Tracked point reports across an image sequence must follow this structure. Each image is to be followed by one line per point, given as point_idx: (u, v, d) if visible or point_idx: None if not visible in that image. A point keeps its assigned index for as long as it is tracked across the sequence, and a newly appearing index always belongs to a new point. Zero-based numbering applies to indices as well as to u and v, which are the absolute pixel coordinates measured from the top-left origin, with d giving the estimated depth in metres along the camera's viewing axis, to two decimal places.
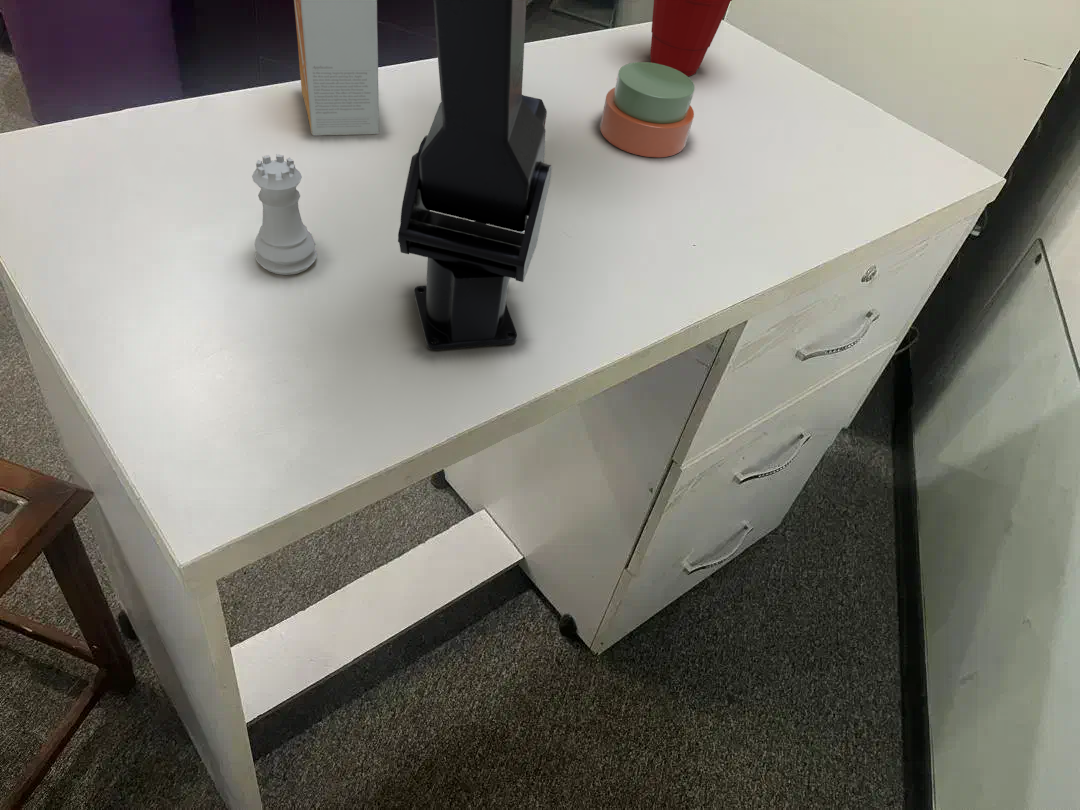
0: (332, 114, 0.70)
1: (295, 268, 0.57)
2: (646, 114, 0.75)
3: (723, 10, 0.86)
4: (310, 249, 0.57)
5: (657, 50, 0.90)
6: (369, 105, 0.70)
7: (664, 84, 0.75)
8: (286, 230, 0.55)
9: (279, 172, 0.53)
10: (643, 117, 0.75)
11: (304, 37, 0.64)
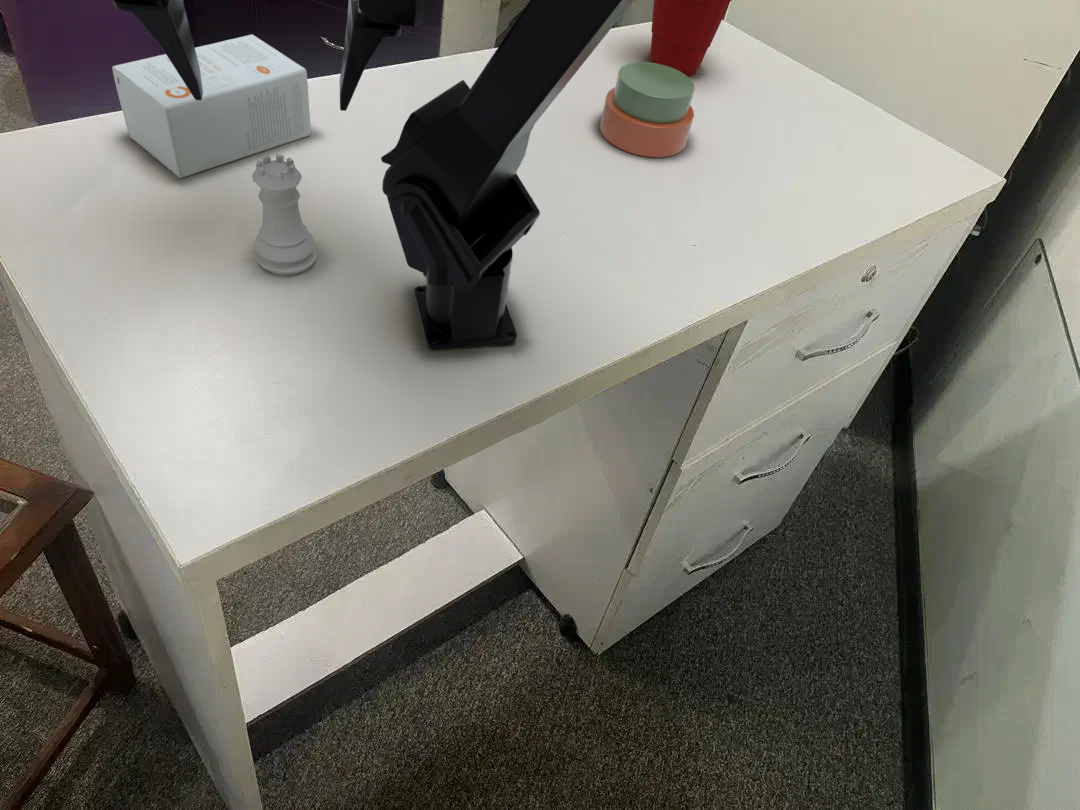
0: (291, 121, 0.68)
1: (295, 268, 0.57)
2: (646, 114, 0.75)
3: (723, 10, 0.86)
4: (310, 249, 0.57)
5: (657, 50, 0.90)
6: (279, 86, 0.65)
7: (664, 84, 0.75)
8: (286, 230, 0.55)
9: (279, 172, 0.53)
10: (643, 117, 0.75)
11: (224, 163, 0.66)
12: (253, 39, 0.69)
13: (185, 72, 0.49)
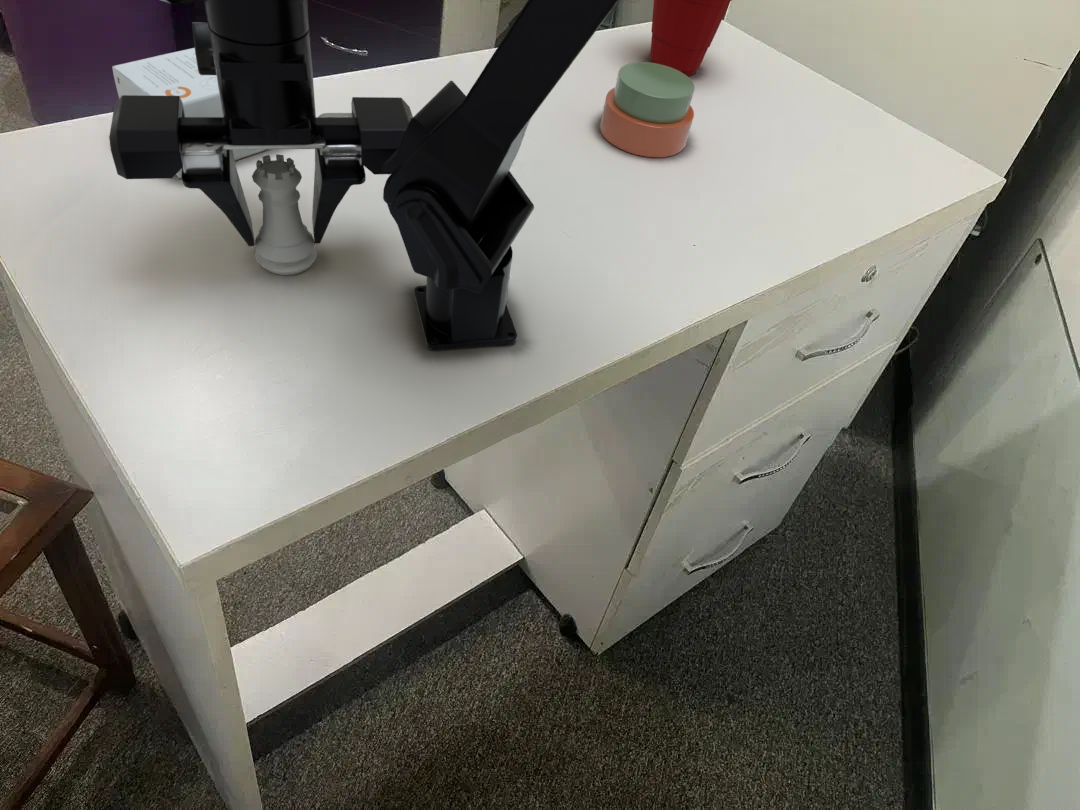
0: None
1: (295, 268, 0.57)
2: (646, 114, 0.75)
3: (723, 10, 0.86)
4: (310, 249, 0.57)
5: (657, 50, 0.90)
6: None
7: (664, 84, 0.75)
8: (286, 230, 0.55)
9: (279, 172, 0.53)
10: (643, 117, 0.75)
11: None
12: None
13: (242, 227, 0.54)
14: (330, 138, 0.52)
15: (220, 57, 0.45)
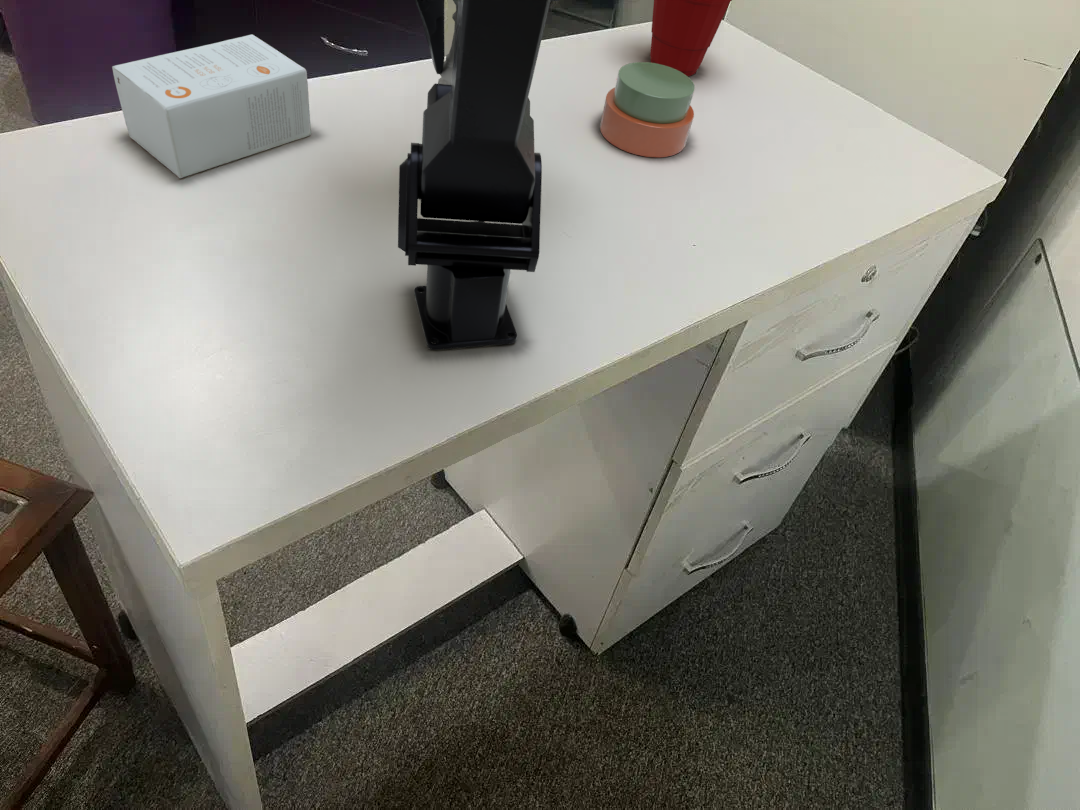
0: (291, 121, 0.68)
1: None
2: (646, 114, 0.75)
3: (723, 10, 0.86)
4: None
5: (657, 50, 0.90)
6: (279, 86, 0.65)
7: (664, 84, 0.75)
8: None
9: None
10: (643, 117, 0.75)
11: (224, 163, 0.66)
12: (253, 39, 0.69)
13: (438, 48, 0.56)
14: None
15: None
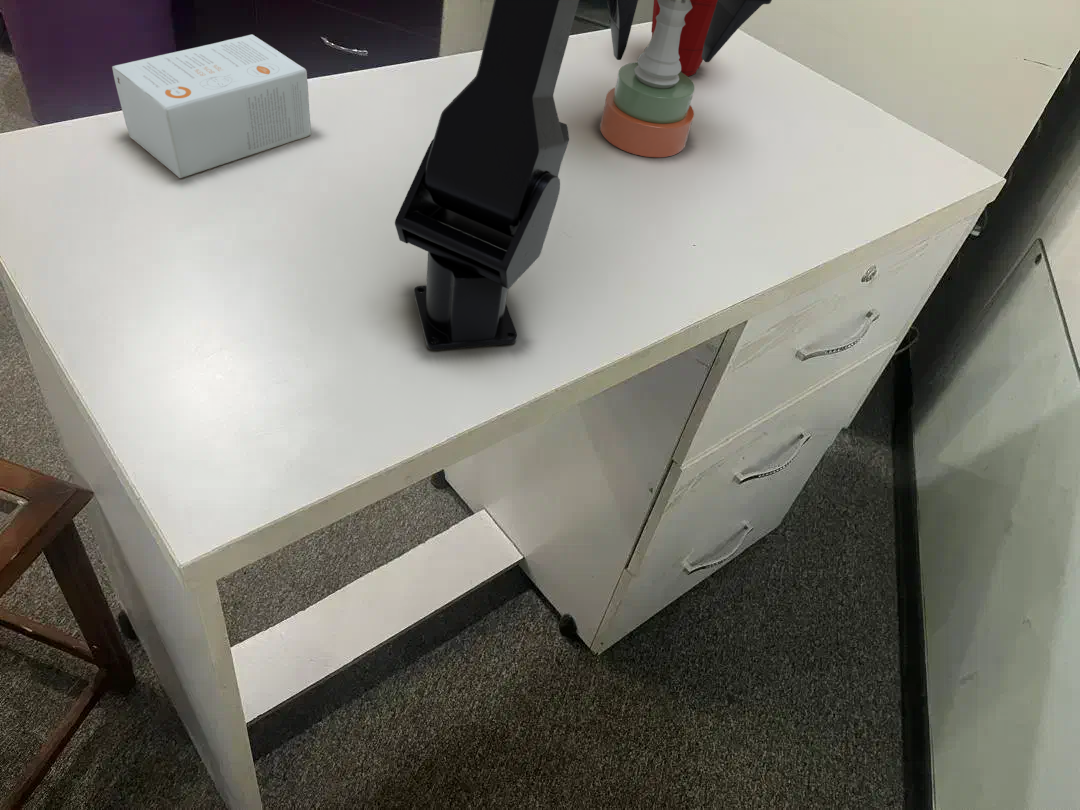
0: (291, 121, 0.68)
1: (669, 82, 0.74)
2: (646, 114, 0.75)
3: None
4: (680, 68, 0.75)
5: None
6: (279, 86, 0.65)
7: None
8: (672, 48, 0.73)
9: None
10: (643, 117, 0.75)
11: (224, 163, 0.66)
12: (253, 39, 0.69)
13: (623, 39, 0.71)
14: None
15: None
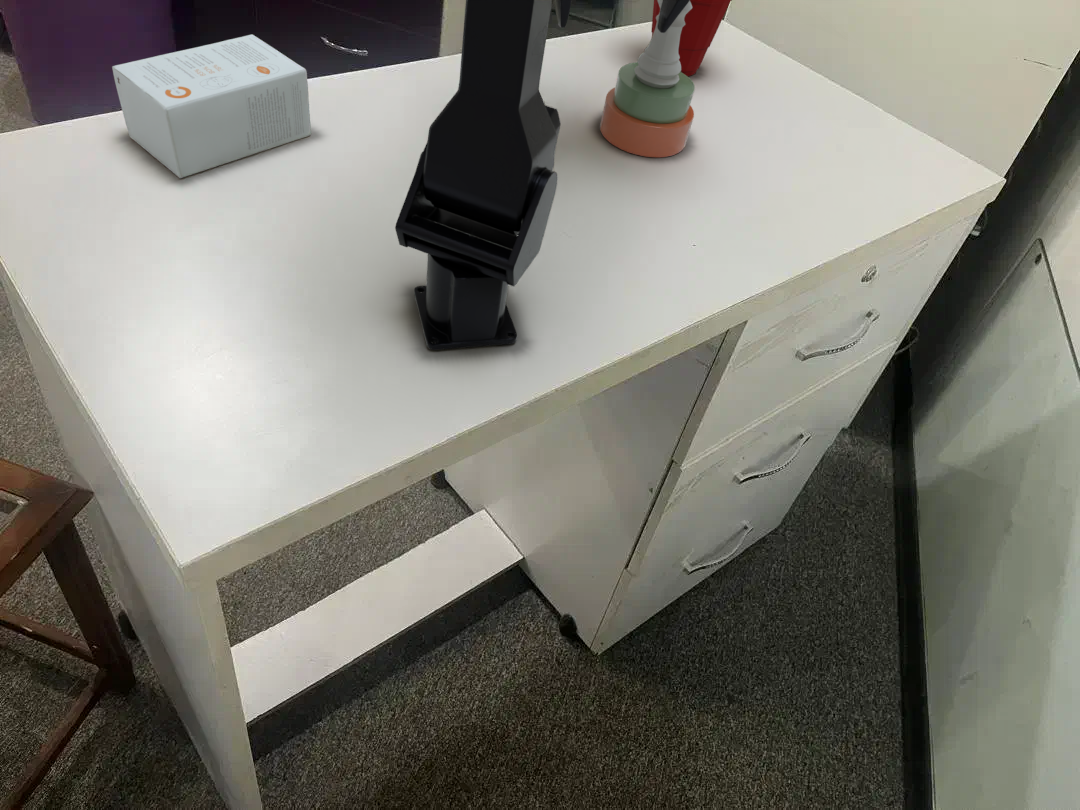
0: (291, 121, 0.68)
1: (669, 82, 0.74)
2: (646, 114, 0.75)
3: (723, 10, 0.86)
4: (680, 68, 0.75)
5: None
6: (279, 86, 0.65)
7: None
8: (672, 48, 0.73)
9: None
10: (643, 117, 0.75)
11: (224, 163, 0.66)
12: (253, 39, 0.69)
13: (566, 2, 0.63)
14: None
15: None
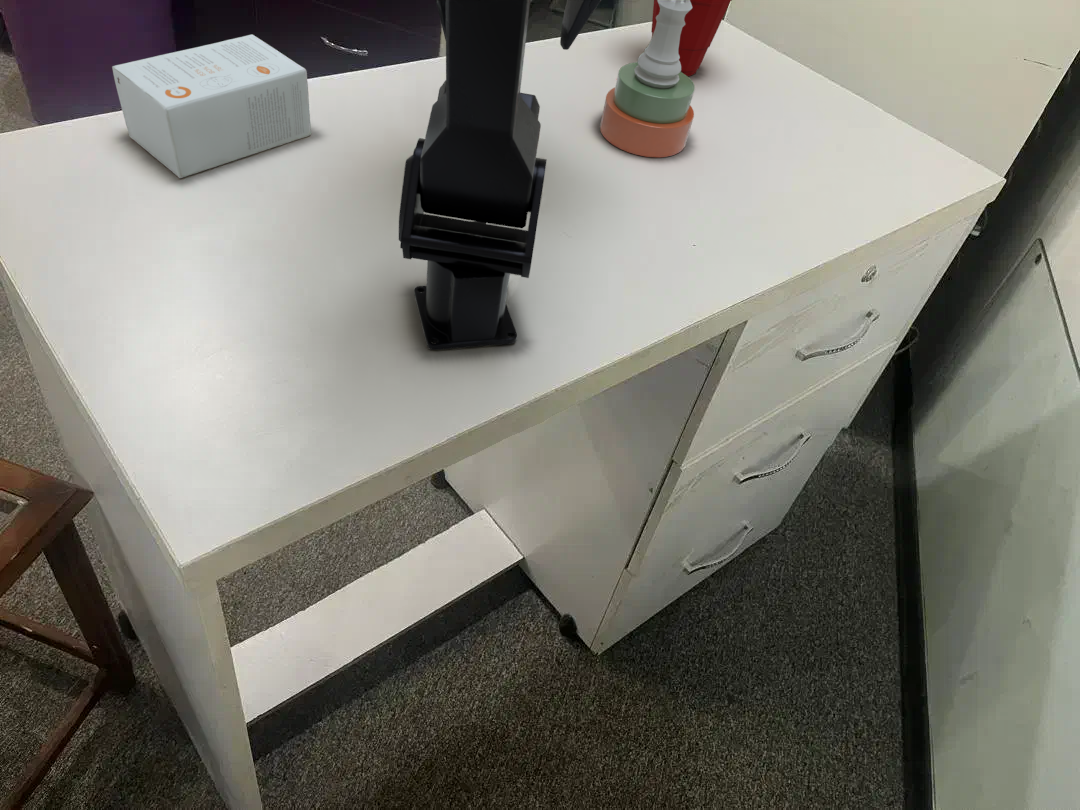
0: (291, 121, 0.68)
1: (669, 82, 0.74)
2: (646, 114, 0.75)
3: (723, 10, 0.86)
4: (680, 68, 0.75)
5: None
6: (279, 86, 0.65)
7: None
8: (672, 48, 0.73)
9: None
10: (643, 117, 0.75)
11: (224, 163, 0.66)
12: (253, 39, 0.69)
13: None
14: None
15: None
